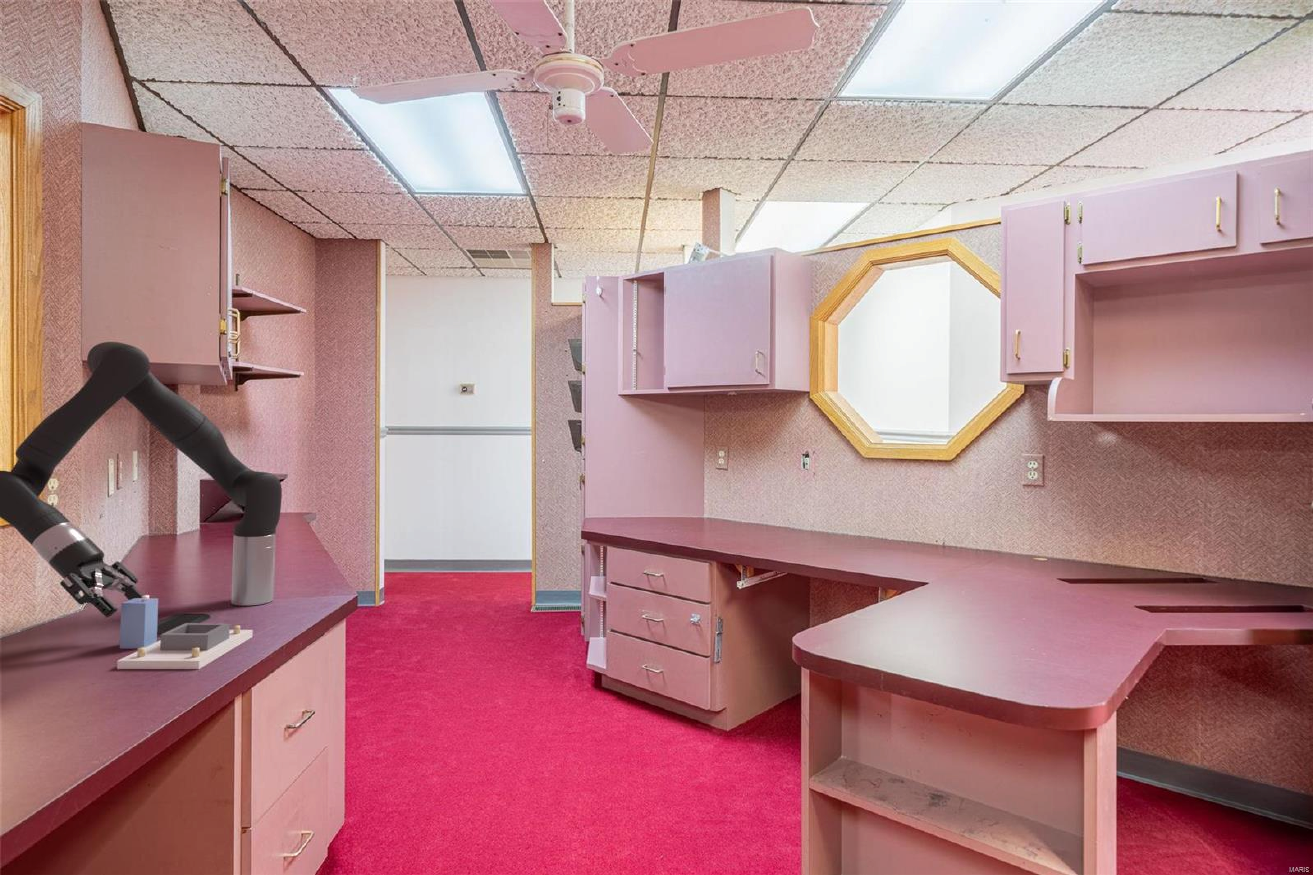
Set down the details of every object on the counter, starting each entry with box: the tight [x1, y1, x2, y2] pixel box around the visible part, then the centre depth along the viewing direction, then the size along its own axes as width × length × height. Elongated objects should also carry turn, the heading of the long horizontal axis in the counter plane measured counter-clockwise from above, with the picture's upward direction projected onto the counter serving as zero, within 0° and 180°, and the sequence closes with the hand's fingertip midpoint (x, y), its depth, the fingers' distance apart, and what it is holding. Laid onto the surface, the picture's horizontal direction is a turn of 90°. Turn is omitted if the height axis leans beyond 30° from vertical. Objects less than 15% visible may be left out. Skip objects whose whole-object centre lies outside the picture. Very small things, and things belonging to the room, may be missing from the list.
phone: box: [157, 613, 211, 637], centre depth 151 cm, size 8×1×15 cm
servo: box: [119, 594, 159, 649], centre depth 137 cm, size 4×4×10 cm
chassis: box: [116, 622, 254, 670], centre depth 134 cm, size 20×14×4 cm
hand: (127, 608), depth 137 cm, fingers open, 8 cm apart
